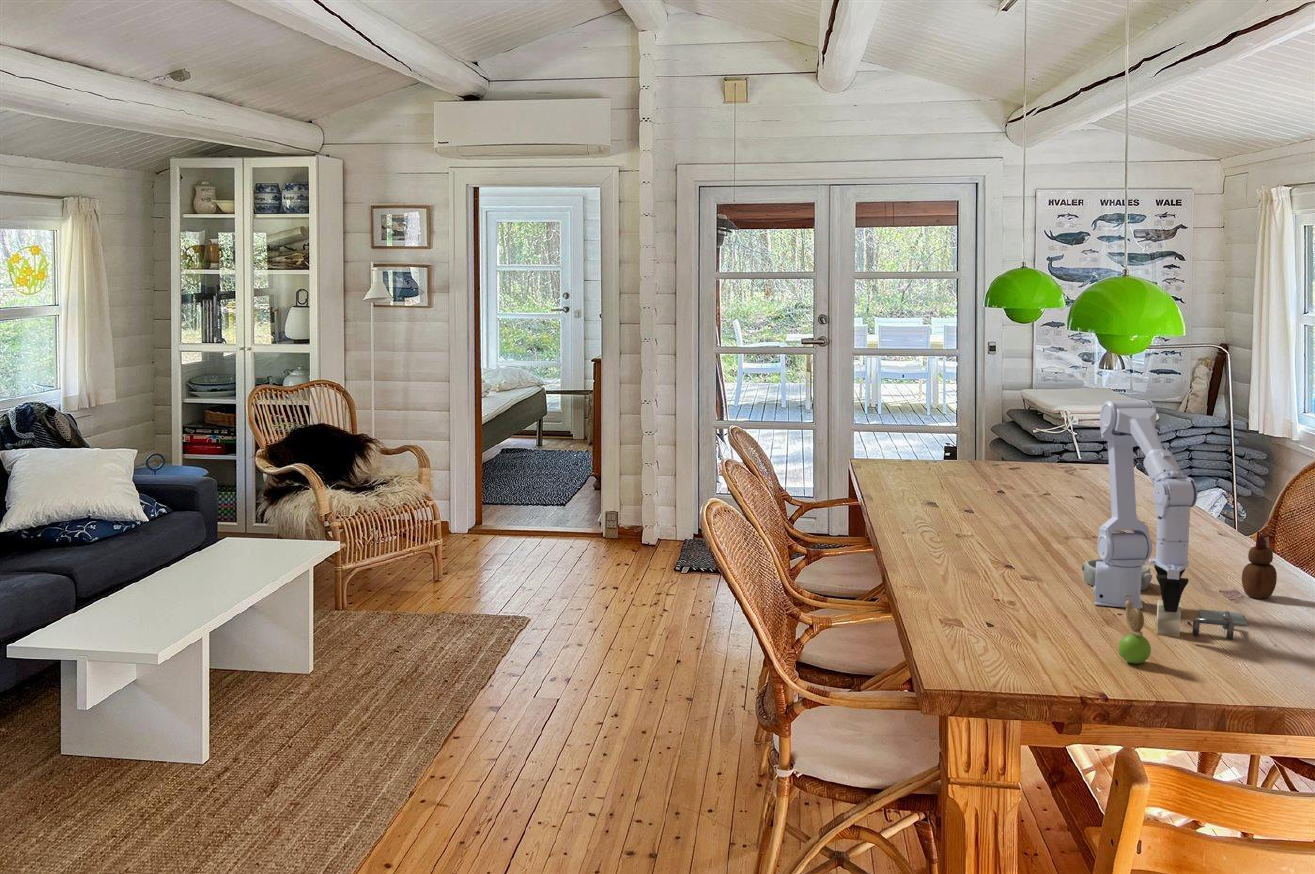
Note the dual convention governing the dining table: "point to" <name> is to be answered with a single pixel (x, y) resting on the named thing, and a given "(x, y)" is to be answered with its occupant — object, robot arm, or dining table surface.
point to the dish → (1090, 565)
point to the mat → (1218, 615)
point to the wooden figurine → (1259, 571)
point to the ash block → (1168, 621)
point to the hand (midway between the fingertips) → (1169, 606)
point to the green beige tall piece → (1134, 637)
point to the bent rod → (1225, 622)
